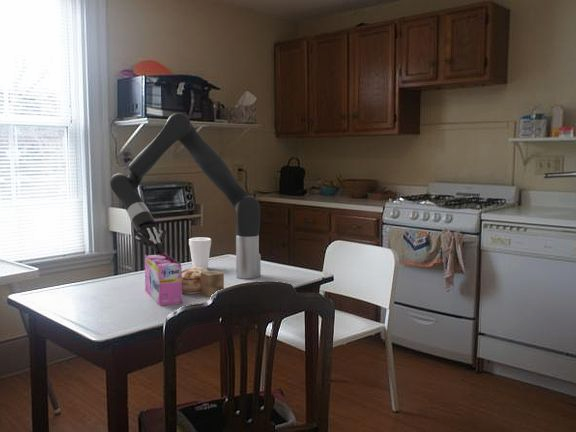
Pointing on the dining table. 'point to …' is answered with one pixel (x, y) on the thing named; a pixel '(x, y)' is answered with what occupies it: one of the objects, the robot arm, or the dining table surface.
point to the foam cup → (200, 251)
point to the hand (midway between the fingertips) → (161, 253)
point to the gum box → (163, 279)
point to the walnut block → (211, 282)
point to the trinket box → (192, 280)
